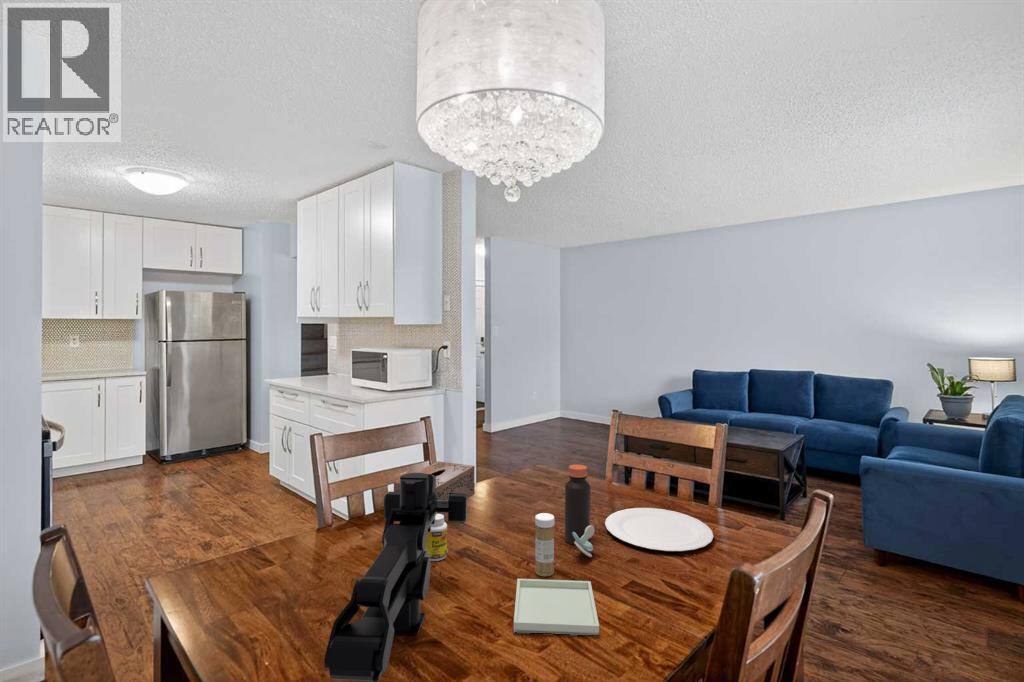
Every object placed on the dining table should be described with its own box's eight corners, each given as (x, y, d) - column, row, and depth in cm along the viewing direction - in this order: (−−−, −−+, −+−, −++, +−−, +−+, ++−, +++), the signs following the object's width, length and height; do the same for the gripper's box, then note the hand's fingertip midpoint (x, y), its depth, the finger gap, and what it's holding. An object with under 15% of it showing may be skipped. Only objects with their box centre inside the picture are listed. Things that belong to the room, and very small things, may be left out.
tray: (599, 636, 92) (599, 625, 91) (513, 632, 92) (513, 622, 92) (590, 590, 108) (590, 581, 107) (517, 587, 108) (517, 578, 108)
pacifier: (594, 562, 122) (581, 545, 127) (610, 543, 122) (597, 527, 127) (578, 552, 118) (565, 535, 123) (596, 532, 118) (582, 516, 123)
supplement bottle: (430, 564, 119) (430, 522, 118) (421, 555, 123) (421, 515, 123) (450, 558, 122) (451, 517, 121) (441, 549, 126) (441, 510, 126)
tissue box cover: (434, 522, 145) (434, 488, 144) (393, 514, 150) (393, 482, 150) (474, 494, 168) (474, 465, 168) (438, 489, 174) (438, 461, 174)
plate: (738, 546, 130) (738, 539, 130) (646, 565, 119) (647, 558, 119) (665, 508, 157) (665, 502, 157) (585, 521, 146) (585, 514, 146)
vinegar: (570, 533, 137) (571, 462, 137) (593, 538, 134) (594, 465, 133) (560, 542, 131) (561, 468, 131) (584, 548, 128) (584, 472, 127)
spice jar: (552, 567, 117) (553, 512, 117) (555, 577, 113) (556, 519, 112) (533, 568, 117) (534, 512, 117) (535, 577, 113) (536, 520, 112)
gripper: (461, 483, 103) (472, 462, 119) (374, 481, 104) (396, 461, 120) (461, 535, 103) (471, 508, 119) (374, 533, 105) (396, 506, 120)
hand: (433, 494), depth 119 cm, fingers open, 9 cm apart
